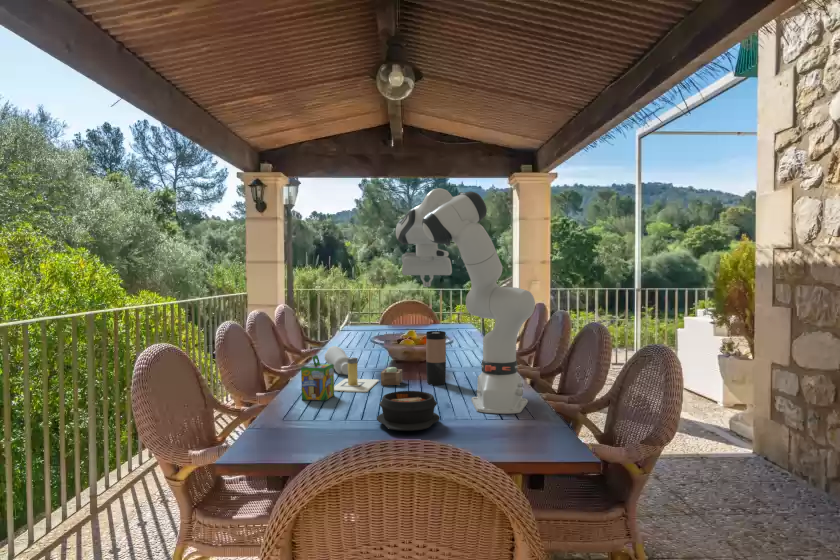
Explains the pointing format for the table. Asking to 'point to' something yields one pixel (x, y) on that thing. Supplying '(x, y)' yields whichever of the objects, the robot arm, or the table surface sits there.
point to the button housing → (391, 377)
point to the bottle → (337, 359)
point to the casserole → (408, 410)
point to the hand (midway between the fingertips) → (426, 286)
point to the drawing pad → (362, 385)
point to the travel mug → (436, 357)
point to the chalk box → (317, 381)
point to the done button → (391, 369)
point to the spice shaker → (352, 371)
